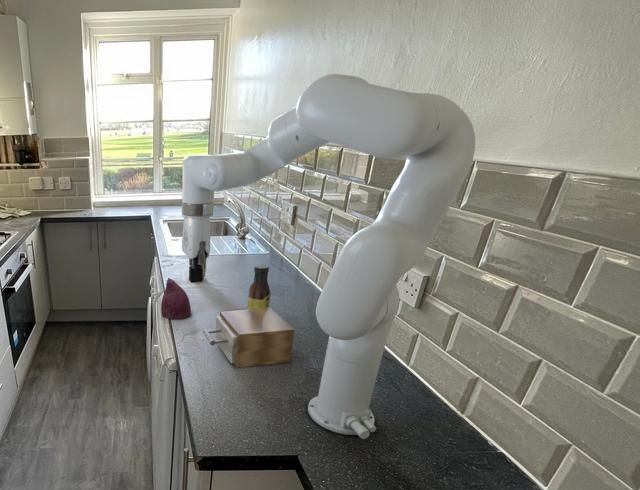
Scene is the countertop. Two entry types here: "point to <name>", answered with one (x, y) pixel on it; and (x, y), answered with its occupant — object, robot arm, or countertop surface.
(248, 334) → the cabinet
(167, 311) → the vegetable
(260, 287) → the sauce bottle
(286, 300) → the countertop surface
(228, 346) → the drawer
